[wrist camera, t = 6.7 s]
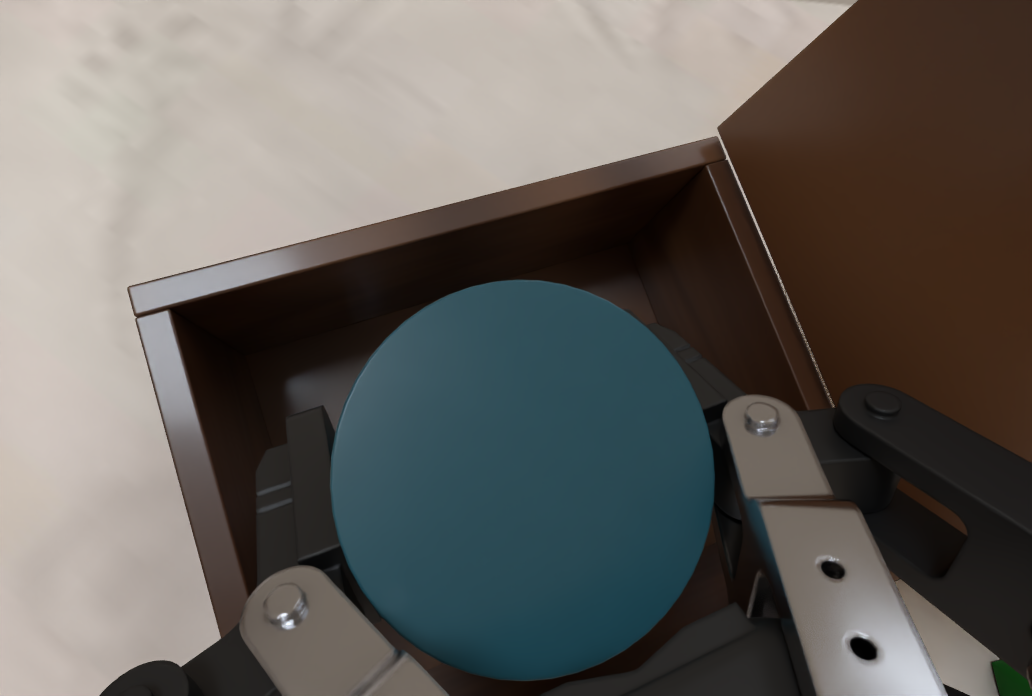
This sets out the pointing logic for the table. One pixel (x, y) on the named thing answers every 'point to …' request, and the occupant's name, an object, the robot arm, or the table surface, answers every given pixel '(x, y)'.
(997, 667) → the milk carton
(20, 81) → the table surface
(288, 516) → the robot arm
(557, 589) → the can
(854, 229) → the bin lid
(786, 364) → the bin
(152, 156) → the table surface
